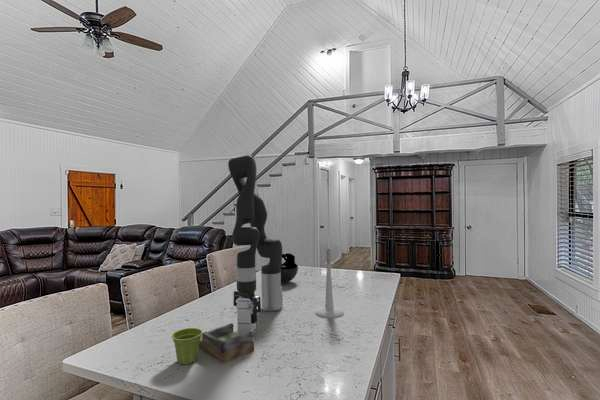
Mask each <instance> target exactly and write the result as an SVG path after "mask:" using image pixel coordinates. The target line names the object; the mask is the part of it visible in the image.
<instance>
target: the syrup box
mask: <svg viewBox="0 0 600 400" xmlns="http://www.w3.org/2000/svg"><path fill="white" fill-rule="evenodd" d="M254 295H255V296H256V294H254ZM236 302H237V308H236V312H237V313H236V314H237V315H236V316H237V318H236V319H237V334H239V335H242V334H244V333H247V332H250V331H251V332H252V337H253V336H254V335H255V334H256V332H257V331H258V330H257V326H258V325H257V322H256V323H254V324H252V323H251V312H250V309H248V307H247V302H248V303H249V304H250V305H253V303H252V301H251V300H250V299H249V298H244V297H239V298H238V299H237V300H236ZM252 309H253V310H254V308H252Z"/></svg>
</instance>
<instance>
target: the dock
mask: <svg viewBox="0 0 600 400" xmlns="http://www.w3.org/2000/svg"><path fill="white" fill-rule="evenodd" d="M198 350H199V351H202V352H204V353H206V354H207V355H208V356H211V357H213V358H214V359H216V360H218V361H219V362H220V363H222V364H226V363H229V362H231V361H233V360H236V359H238V358H240V357H242V356H245V355H247V354H249V353H252V352H253V351H255V341H254V340H253V336H252V332H251V331H250V332H247V333H244V334H242V335H239V334H238V332H234V323H232V322H231V323H229V324H225V325H222V326H219V327H216V328H212V329H210V330H207V331H205V332H204V331H203V332H202V334H201V338H200V342H199V349H198Z"/></svg>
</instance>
